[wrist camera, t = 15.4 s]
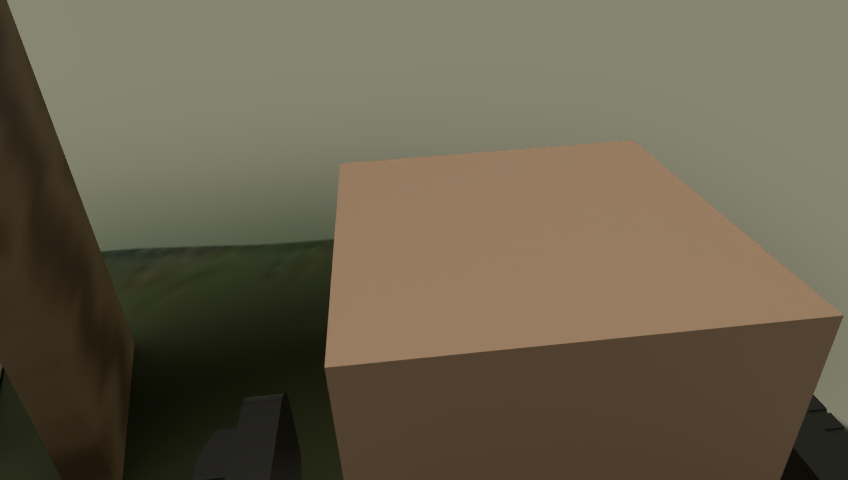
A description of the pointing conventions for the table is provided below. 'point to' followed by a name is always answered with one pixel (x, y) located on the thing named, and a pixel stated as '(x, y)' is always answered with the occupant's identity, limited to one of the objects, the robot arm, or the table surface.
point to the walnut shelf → (56, 288)
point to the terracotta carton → (560, 324)
